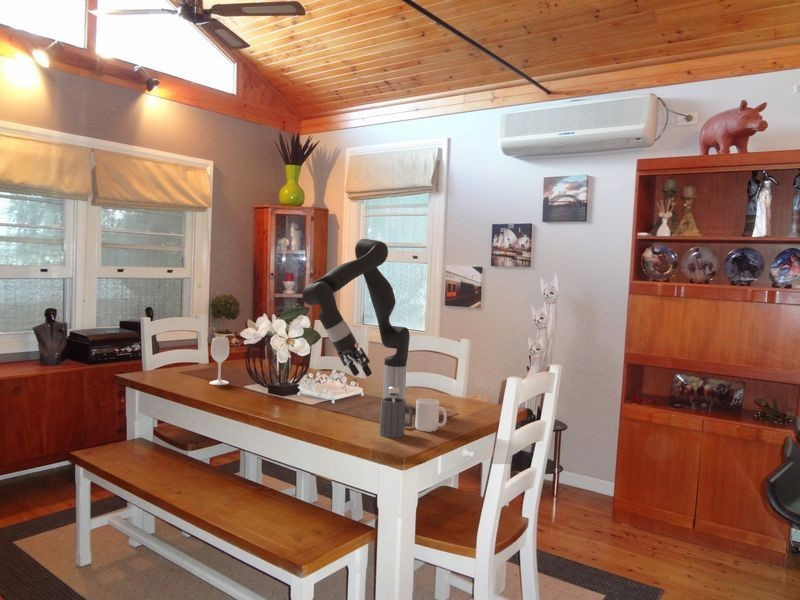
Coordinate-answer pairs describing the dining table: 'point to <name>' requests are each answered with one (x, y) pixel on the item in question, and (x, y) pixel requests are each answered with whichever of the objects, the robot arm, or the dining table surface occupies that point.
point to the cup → (428, 415)
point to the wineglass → (219, 356)
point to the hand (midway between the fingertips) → (363, 374)
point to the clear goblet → (393, 392)
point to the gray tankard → (394, 417)
